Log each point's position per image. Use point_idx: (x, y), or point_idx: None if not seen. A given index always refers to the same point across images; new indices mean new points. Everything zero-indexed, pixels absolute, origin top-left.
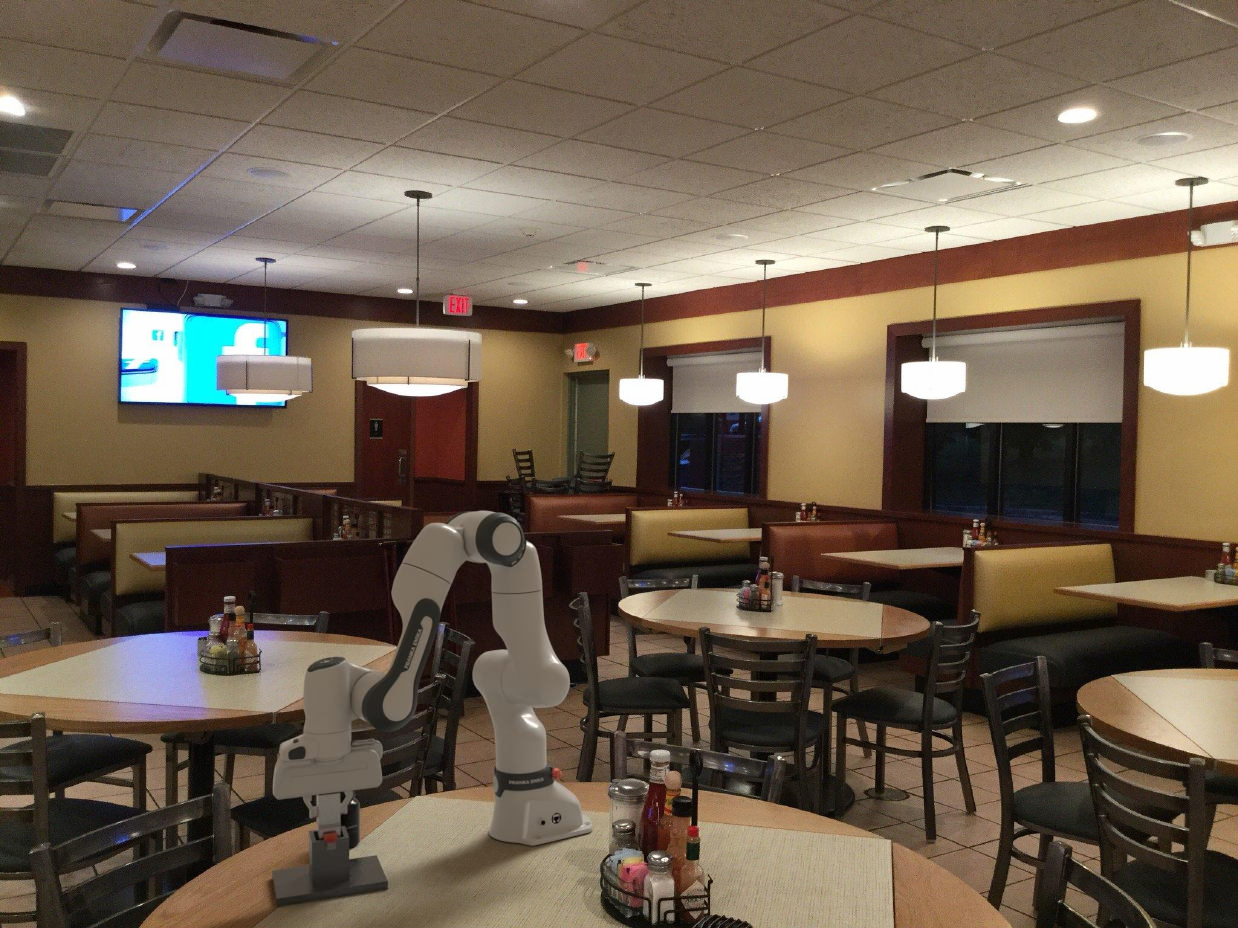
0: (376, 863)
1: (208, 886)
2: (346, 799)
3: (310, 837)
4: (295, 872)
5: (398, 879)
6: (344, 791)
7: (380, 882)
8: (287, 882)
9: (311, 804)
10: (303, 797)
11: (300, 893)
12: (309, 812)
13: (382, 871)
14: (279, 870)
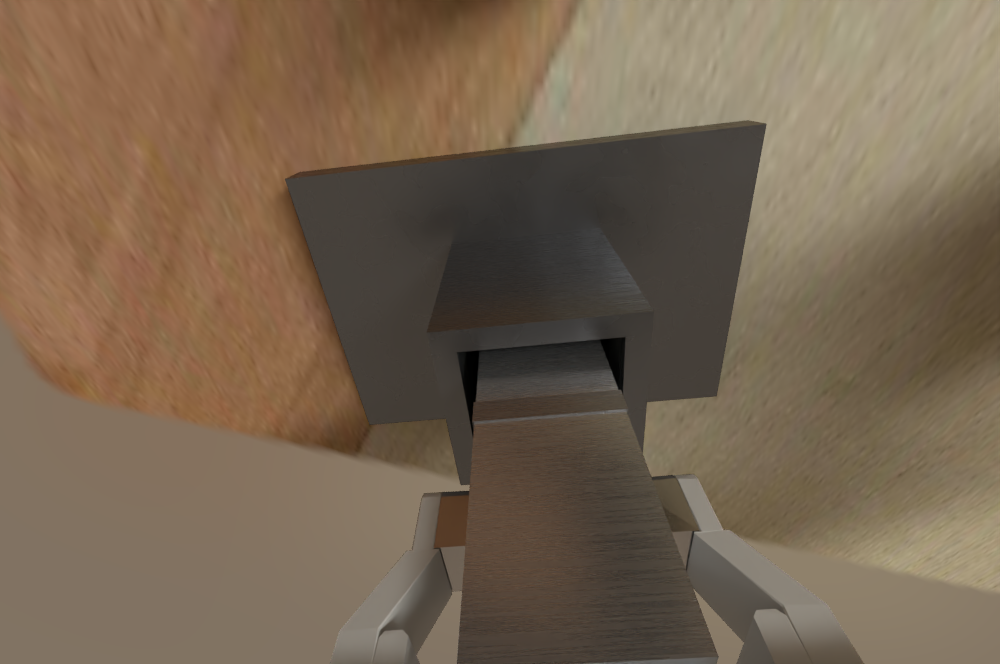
0: (730, 231)
1: (49, 180)
2: (727, 611)
3: (447, 422)
4: (394, 231)
5: (762, 322)
6: (759, 630)
7: (691, 397)
8: (379, 318)
9: (426, 569)
10: (339, 660)
11: (438, 409)
12: (419, 513)
13: (726, 319)
14: (318, 186)
